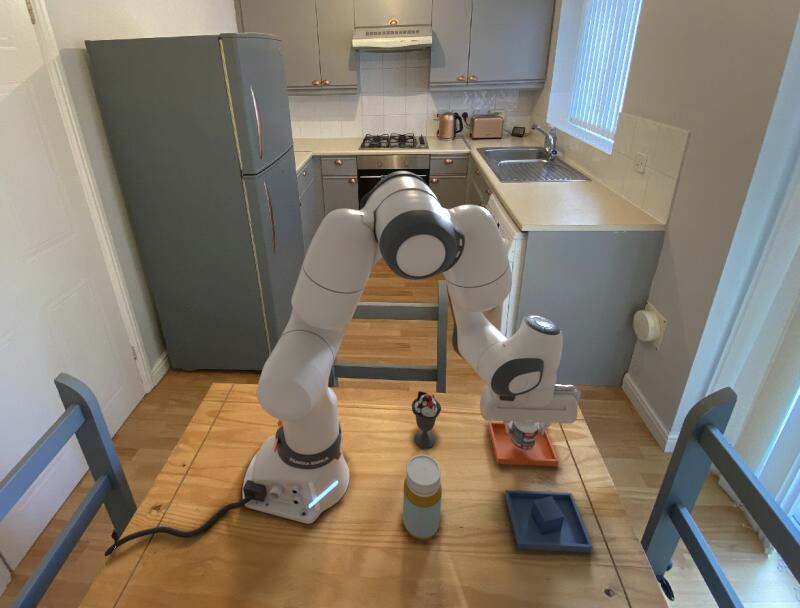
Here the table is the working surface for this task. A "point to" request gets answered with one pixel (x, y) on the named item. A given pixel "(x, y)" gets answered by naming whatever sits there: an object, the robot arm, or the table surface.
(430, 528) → the bottle
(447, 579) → the table surface
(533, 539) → the blue tray
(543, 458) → the orange tray
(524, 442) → the pill bottle
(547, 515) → the blue block
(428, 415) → the sundae
